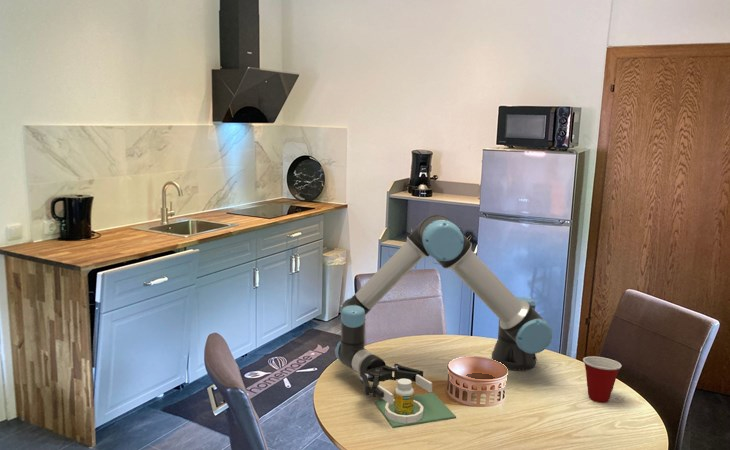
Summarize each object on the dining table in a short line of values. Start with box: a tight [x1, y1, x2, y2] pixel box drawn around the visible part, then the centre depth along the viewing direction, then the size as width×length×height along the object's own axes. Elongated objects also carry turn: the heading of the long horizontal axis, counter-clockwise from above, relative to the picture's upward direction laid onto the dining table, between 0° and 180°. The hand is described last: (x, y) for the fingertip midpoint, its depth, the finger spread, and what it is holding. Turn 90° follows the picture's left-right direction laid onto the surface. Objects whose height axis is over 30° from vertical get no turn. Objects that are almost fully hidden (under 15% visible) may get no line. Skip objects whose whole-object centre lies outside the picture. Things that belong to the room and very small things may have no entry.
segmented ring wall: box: [385, 399, 424, 424], centre depth 162 cm, size 11×11×2 cm
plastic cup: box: [582, 355, 623, 404], centre depth 173 cm, size 11×11×12 cm
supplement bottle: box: [394, 379, 415, 415], centre depth 161 cm, size 5×5×10 cm
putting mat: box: [374, 392, 457, 429], centre depth 165 cm, size 19×15×1 cm
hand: (412, 393), depth 158 cm, fingers open, 13 cm apart
